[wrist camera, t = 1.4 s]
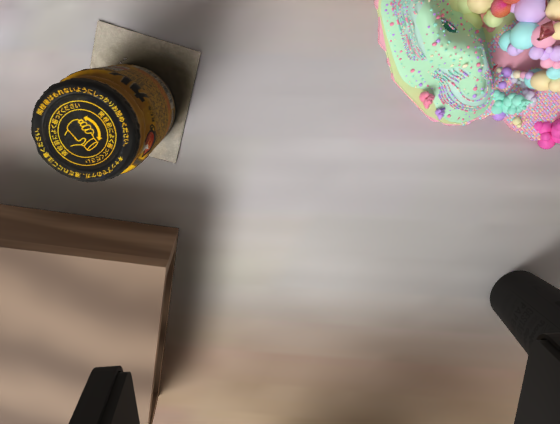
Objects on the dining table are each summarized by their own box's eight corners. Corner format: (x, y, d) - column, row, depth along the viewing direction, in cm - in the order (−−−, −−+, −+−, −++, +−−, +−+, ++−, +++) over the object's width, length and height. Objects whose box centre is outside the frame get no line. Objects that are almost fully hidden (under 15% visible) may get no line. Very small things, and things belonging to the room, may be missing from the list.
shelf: (158, 396, 43) (143, 461, 36) (-76, 376, 40) (-140, 443, 33) (178, 228, 37) (166, 267, 31) (-90, 191, 34) (-169, 226, 28)
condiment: (79, 137, 34) (2, 179, 23) (98, 20, 32) (22, 3, 21) (176, 162, 36) (147, 214, 24) (201, 52, 33) (183, 52, 22)
